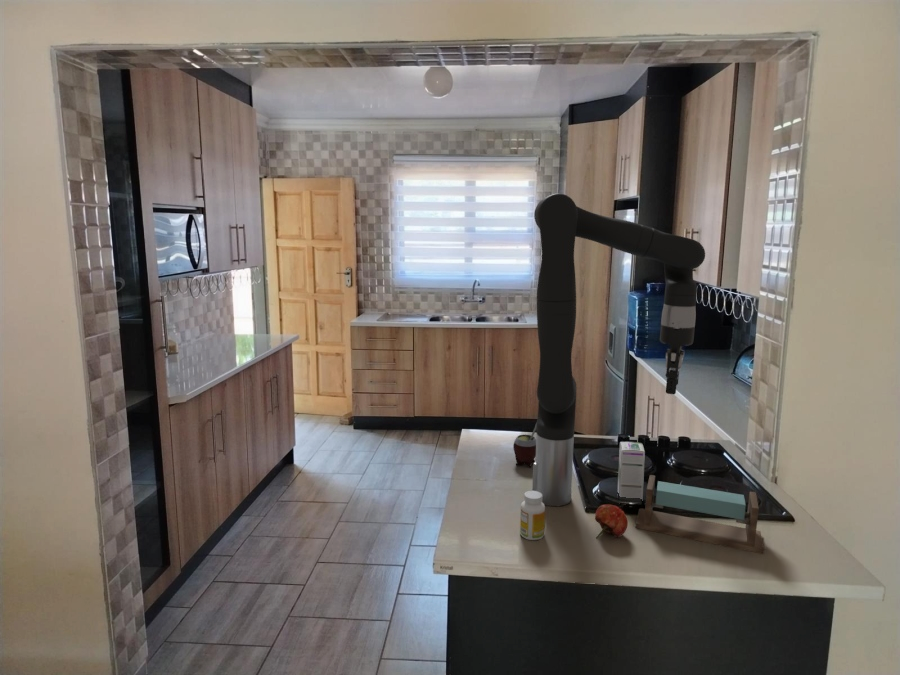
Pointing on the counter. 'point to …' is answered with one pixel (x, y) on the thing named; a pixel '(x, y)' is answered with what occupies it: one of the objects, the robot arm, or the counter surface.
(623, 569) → the counter surface
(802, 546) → the counter surface
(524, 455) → the mate gourd
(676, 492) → the teal rectangular block
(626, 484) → the syrup box
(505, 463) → the counter surface
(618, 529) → the red mushroom
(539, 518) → the supplement bottle
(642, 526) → the rack
